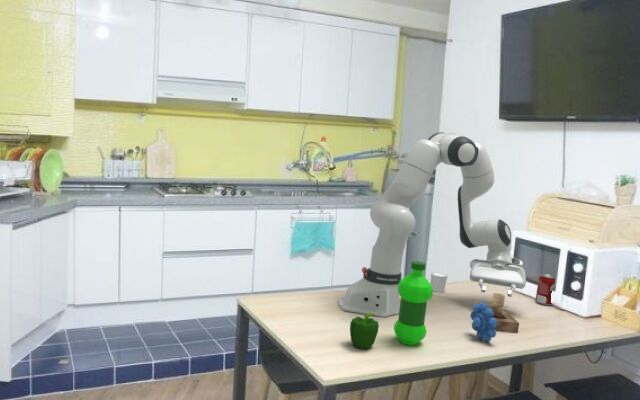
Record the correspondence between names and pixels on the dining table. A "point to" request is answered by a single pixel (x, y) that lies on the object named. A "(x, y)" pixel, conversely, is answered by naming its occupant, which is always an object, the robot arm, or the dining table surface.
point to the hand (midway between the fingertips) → (496, 293)
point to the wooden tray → (507, 323)
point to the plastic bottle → (413, 305)
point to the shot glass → (438, 282)
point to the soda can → (545, 289)
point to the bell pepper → (363, 331)
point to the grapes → (483, 321)
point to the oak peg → (497, 305)
